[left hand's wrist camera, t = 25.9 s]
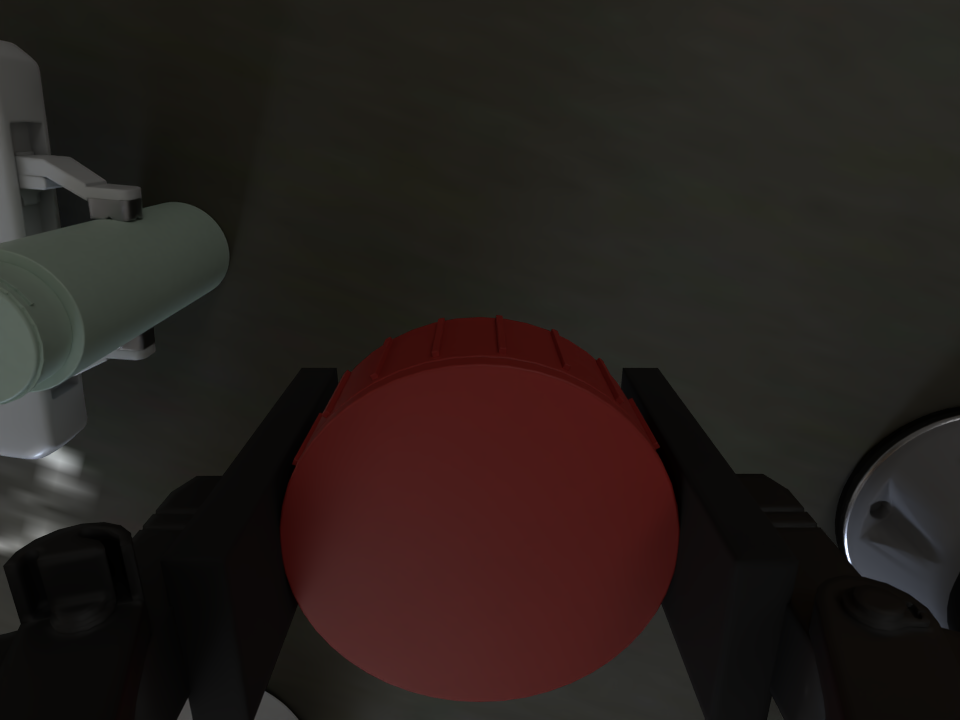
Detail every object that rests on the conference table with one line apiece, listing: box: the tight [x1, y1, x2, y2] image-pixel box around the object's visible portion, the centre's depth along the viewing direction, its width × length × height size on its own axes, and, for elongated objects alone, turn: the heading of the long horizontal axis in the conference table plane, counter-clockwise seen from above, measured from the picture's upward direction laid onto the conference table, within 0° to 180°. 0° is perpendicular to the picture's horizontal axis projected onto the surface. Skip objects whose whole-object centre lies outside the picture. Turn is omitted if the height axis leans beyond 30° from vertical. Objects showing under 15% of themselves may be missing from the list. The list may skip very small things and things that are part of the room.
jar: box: [0, 202, 229, 405], centre depth 30 cm, size 6×6×17 cm
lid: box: [279, 315, 680, 702], centre depth 11 cm, size 6×6×2 cm
